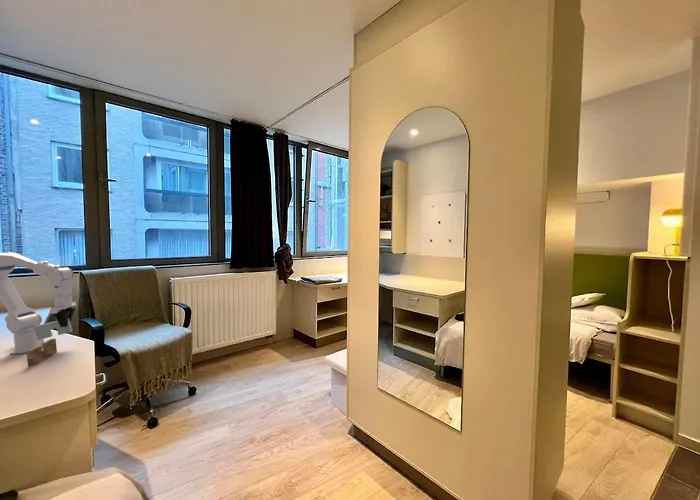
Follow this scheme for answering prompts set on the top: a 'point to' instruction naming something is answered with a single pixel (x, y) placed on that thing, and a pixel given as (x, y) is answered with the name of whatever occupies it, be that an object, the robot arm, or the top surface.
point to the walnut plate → (41, 352)
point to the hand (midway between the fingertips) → (65, 325)
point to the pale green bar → (45, 329)
